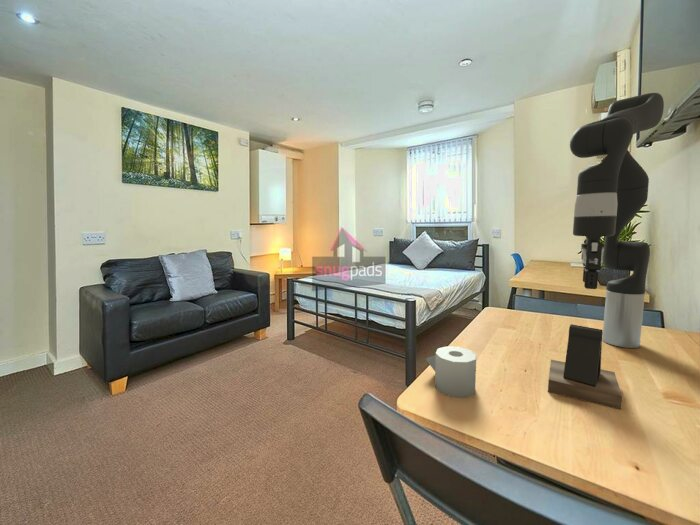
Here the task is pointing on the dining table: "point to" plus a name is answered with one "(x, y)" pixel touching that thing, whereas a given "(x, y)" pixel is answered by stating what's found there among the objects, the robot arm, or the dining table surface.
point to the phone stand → (583, 355)
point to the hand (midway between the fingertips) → (589, 285)
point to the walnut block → (586, 387)
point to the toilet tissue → (454, 371)
